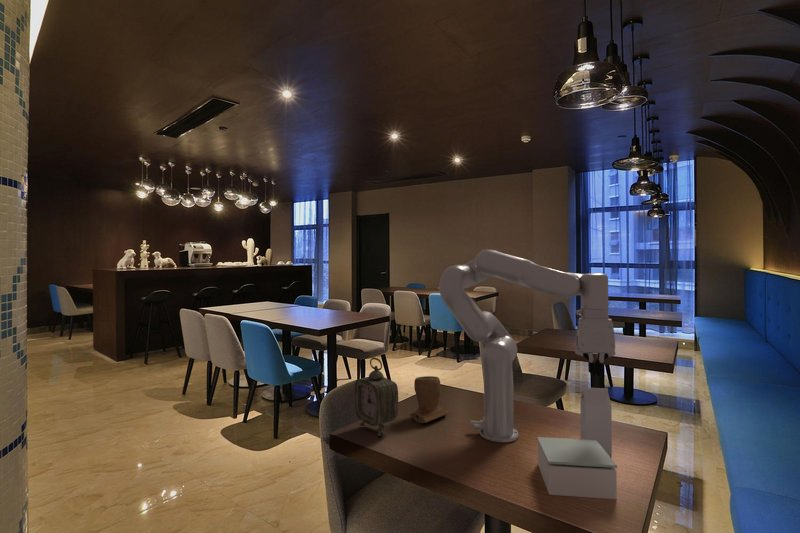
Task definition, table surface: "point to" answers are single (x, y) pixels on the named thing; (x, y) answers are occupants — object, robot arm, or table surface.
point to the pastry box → (578, 479)
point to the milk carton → (596, 417)
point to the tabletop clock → (376, 399)
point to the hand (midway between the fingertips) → (595, 374)
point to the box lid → (575, 452)
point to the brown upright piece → (428, 399)
